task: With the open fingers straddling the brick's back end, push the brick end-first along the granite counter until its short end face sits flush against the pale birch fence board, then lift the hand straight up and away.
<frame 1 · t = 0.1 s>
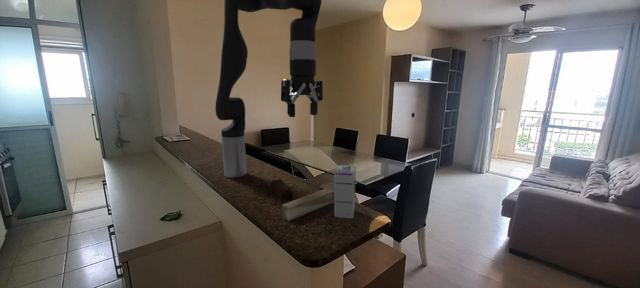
hand: (303, 115, 79), 29 cm above the countertop, tool pointing down, fingers open, 8 cm apart
brick: (281, 197, 93), on the countertop
fence board: (308, 209, 83), on the countertop
syrup box: (344, 214, 80), on the countertop
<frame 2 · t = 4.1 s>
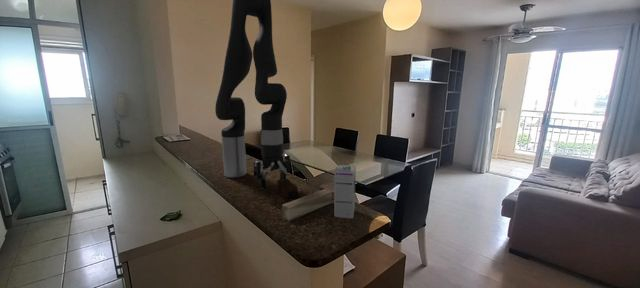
hand: (273, 185, 95), 3 cm above the countertop, tool pointing down, fingers open, 8 cm apart
brick: (287, 196, 93), on the countertop, touching gripper
everything else where it was.
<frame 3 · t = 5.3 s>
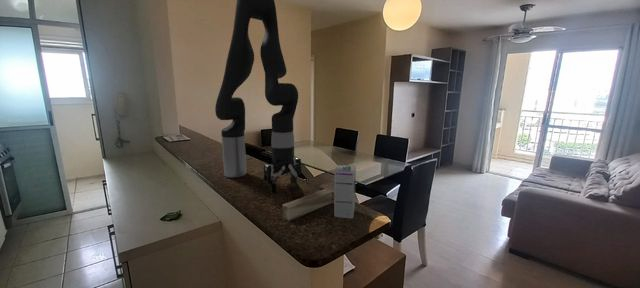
hand: (283, 190, 91), 3 cm above the countertop, tool pointing down, fingers open, 8 cm apart
brick: (295, 202, 88), on the countertop, touching gripper
everything else where it was.
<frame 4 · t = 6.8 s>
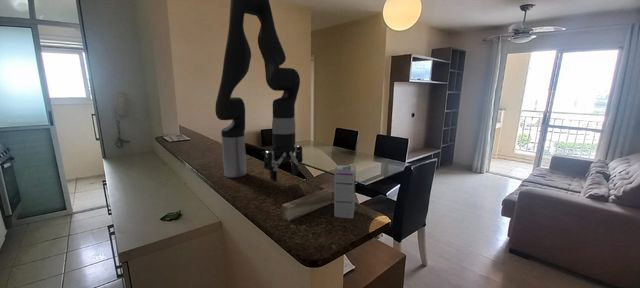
hand: (284, 178, 90), 7 cm above the countertop, tool pointing down, fingers open, 8 cm apart
brick: (296, 203, 88), on the countertop, touching fence board
everything else where it was.
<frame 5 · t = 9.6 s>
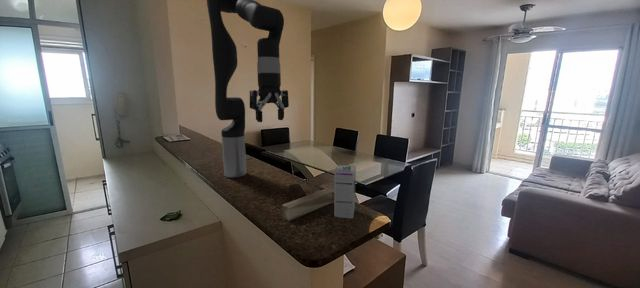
hand: (270, 120, 91), 26 cm above the countertop, tool pointing down, fingers open, 8 cm apart
brick: (297, 202, 89), on the countertop
everything else where it was.
at the end: brick 1.4 cm from the target spot on the countertop beside the fence board, on the countertop; brick tilted 0° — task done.
